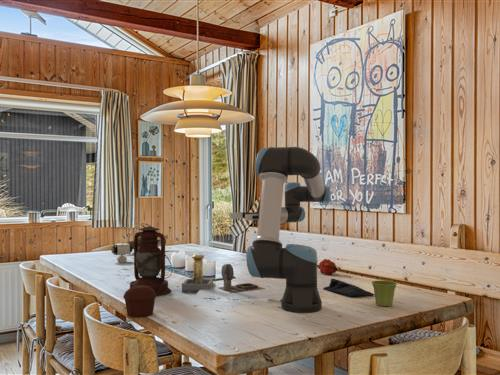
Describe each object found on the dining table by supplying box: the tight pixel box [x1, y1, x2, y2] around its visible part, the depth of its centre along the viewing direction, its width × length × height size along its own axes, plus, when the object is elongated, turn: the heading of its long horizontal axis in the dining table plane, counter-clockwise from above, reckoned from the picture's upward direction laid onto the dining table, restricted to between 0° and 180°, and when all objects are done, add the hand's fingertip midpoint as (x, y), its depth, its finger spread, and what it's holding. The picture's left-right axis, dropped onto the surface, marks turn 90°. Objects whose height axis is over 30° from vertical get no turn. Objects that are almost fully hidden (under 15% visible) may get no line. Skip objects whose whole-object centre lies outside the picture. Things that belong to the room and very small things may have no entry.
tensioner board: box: [217, 263, 266, 294], centre depth 212 cm, size 13×17×12 cm
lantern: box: [129, 222, 173, 298], centre depth 211 cm, size 19×19×30 cm
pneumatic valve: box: [110, 241, 134, 263], centre depth 296 cm, size 6×12×12 cm, turn 125°
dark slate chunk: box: [323, 278, 375, 298], centre depth 211 cm, size 15×22×5 cm
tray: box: [181, 278, 214, 293], centre depth 217 cm, size 12×12×4 cm
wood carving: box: [123, 234, 169, 250], centre depth 341 cm, size 9×35×11 cm, turn 132°
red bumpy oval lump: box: [317, 258, 338, 276], centre depth 254 cm, size 8×8×12 cm
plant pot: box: [371, 279, 398, 307], centre depth 188 cm, size 9×9×9 cm
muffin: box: [122, 285, 157, 319], centre depth 174 cm, size 12×11×10 cm
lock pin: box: [191, 254, 205, 284], centre depth 217 cm, size 5×5×14 cm
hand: (237, 216), depth 221 cm, fingers open, 13 cm apart
